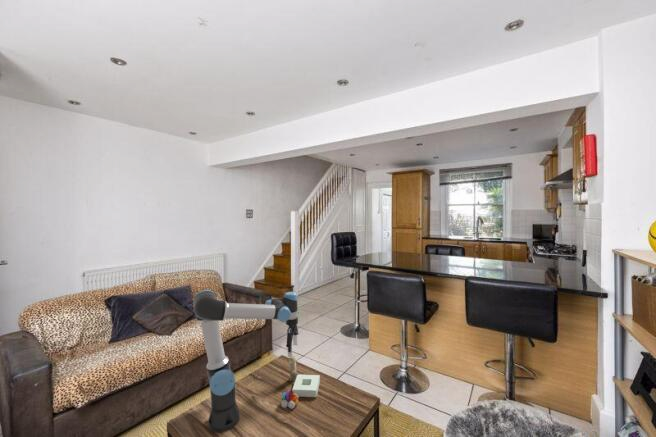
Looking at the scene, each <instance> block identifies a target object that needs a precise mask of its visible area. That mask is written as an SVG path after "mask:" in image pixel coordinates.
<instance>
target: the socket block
mask: <svg viewBox="0 0 656 437" xmlns="http://www.w3.org/2000/svg"><path fill="white" fill-rule="evenodd" d="M293 383H294V384H293V387H292V390H291V391H292V392H293V391H294V394H297V395H298V398H299V397H300V398H301V397H302V398H304V397H306V398H317V397H318V393H319V387H320V383H321V378H320V374H297V373H296V380H295V381H294V382H293ZM292 392H291V393H292Z"/></svg>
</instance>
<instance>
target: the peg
mask: <svg viewBox="0 0 656 437" xmlns="http://www.w3.org/2000/svg"><path fill="white" fill-rule="evenodd" d="M288 358H289V380H290V382H293V383H295V380H296V377H297V357H296V356H295V355H293V357H288Z"/></svg>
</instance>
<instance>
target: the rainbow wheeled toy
mask: <svg viewBox="0 0 656 437" xmlns="http://www.w3.org/2000/svg"><path fill="white" fill-rule="evenodd" d="M298 404H299V396H298V395H297V394H294V391H293V392H291V390H287V391H286V392H285V391H284V392H283V393H282V397H281V399H280V406H281V407H282V408H283V409H286V408H287V407H288V408H289V409H290V410H291V409H294V408H295V407H296V405H298Z"/></svg>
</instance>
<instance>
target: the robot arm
mask: <svg viewBox="0 0 656 437" xmlns="http://www.w3.org/2000/svg"><path fill="white" fill-rule="evenodd" d="M192 305H193V311H194V314H195V318H196V321H197V322H200V328H201V331H202V336H203V342H204V346H205V352H206V356H207V361H208V362H207V364H206V371H207V372H206V373H207V378H208V382H209V383H208V385H209V390H210V405H211V410H210V413H209V417H208V420H207V422H208V425H207V426H208V429H209V430H210V431H212V432H214V433H223V432H227V431H229V430H231V429H232V428H234V427H235V426H236V425H237V424H238V423H239V421H240V418H241V414H240V413H241V412H240V409H239V406H238V404H237V399H236V398H237V397H236V378H235V374H234V372H233V371H232V370H231V363H230V360H229V357H228V356H227V355H225V350H224V344H223V339H222V335H221V329H220V324H219V322H220V321H222V322H223V321H224V320H228V319H229V320H232V319H233V320H237V319H240V320H241V319H242V320H244V319H245V320H248V319H249V320H278V321H281V322H285V324H286V325H287V326H288V328H287V330H286V345H285V348H287V357H288V358H290V357H293V356H294V355H293V346H298V345H299V344H298V335H299V333H300V332H299V328H298V326H297V325H298V323H299V317H298V316H299V312H298V294H297V293H296V292H295V291H288V292H285V293H284V296H283V297H277V298H270V299H267V300H266V301H265V303H263V304H259V303H258V304H257V303H236V302H235V303H232V302H227V301H226V300H220V299H218V297H217V294H216V293H215V292H214V291H212V290H210V289H203V290H200V291H198V292H197V293H196V294H195V296H194V298H193V301H192Z"/></svg>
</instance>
